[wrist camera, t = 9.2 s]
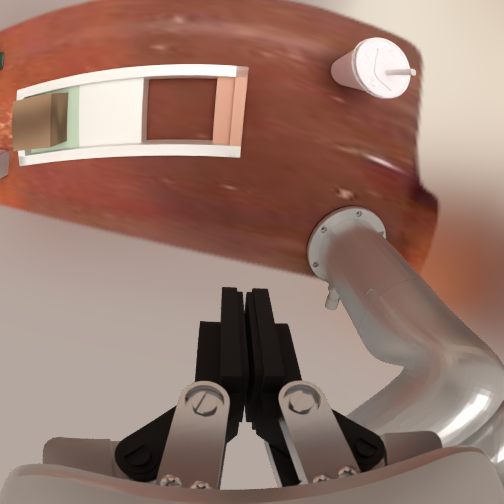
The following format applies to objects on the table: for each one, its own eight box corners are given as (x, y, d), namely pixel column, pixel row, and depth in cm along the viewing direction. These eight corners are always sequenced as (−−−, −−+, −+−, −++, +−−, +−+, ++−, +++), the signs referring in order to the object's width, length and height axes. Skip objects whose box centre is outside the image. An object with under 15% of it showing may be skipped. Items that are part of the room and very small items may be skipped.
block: (66, 140, 26) (50, 147, 23) (30, 144, 25) (13, 151, 22) (68, 92, 23) (51, 93, 20) (31, 98, 22) (12, 101, 19)
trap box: (237, 151, 32) (240, 157, 29) (35, 158, 28) (19, 166, 25) (245, 71, 28) (248, 67, 24) (34, 89, 24) (17, 90, 20)
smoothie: (327, 100, 30) (389, 105, 18) (314, 52, 27) (370, 30, 15) (371, 92, 30) (444, 99, 18) (359, 46, 26) (429, 32, 14)
